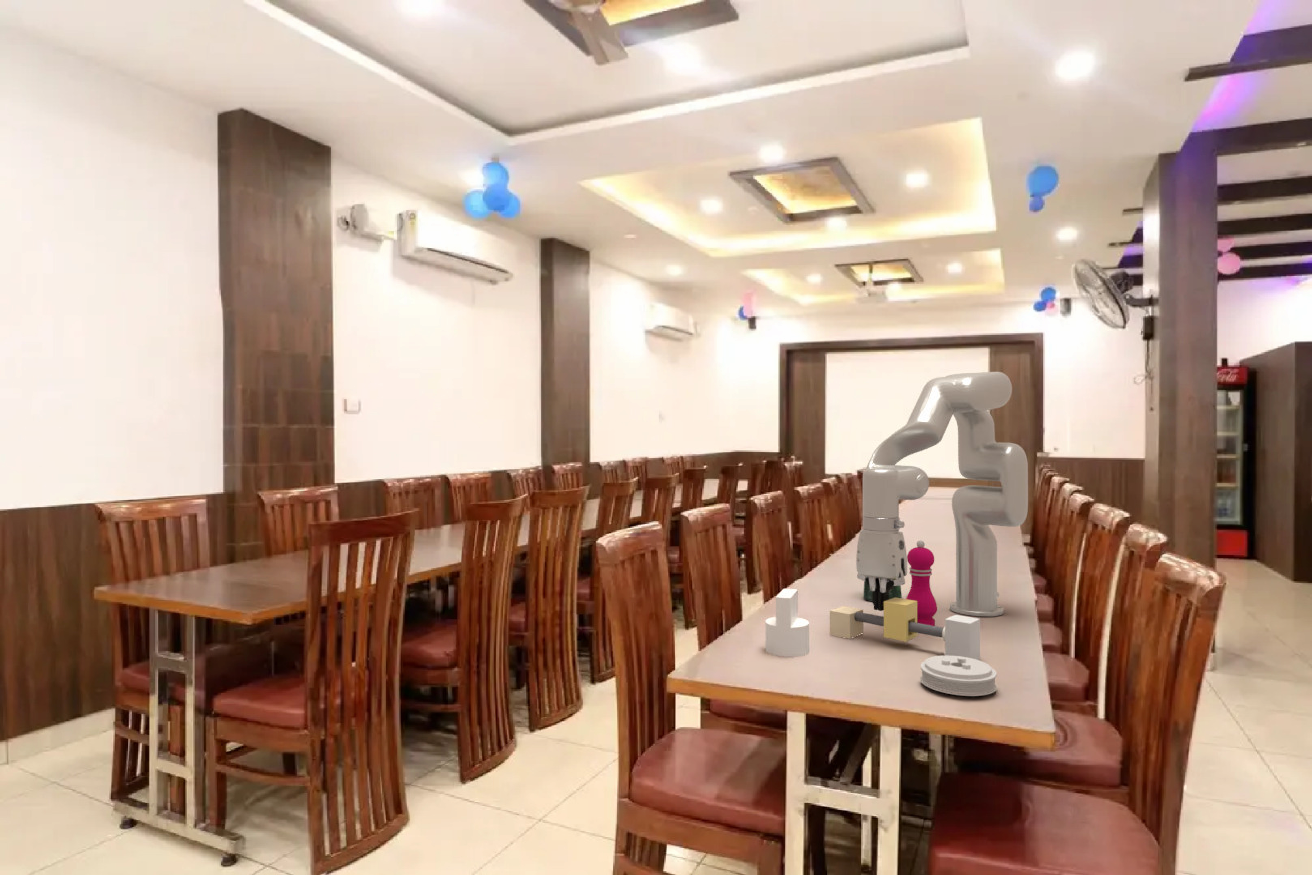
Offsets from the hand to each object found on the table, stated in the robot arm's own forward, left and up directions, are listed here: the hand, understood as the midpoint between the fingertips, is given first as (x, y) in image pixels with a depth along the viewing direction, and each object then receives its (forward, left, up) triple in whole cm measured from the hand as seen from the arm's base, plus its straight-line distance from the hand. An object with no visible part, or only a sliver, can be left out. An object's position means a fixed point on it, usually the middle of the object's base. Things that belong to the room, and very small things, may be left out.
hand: (880, 609), depth 164 cm
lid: (+17, +24, -8) cm, 30 cm away
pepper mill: (-18, +1, -7) cm, 19 cm away
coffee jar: (-36, -18, -7) cm, 41 cm away
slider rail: (0, +5, -7) cm, 9 cm away
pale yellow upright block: (0, +5, -5) cm, 7 cm away
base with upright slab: (+19, -11, -7) cm, 23 cm away
